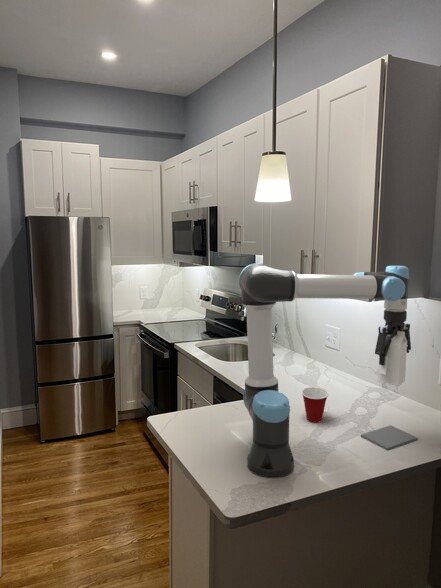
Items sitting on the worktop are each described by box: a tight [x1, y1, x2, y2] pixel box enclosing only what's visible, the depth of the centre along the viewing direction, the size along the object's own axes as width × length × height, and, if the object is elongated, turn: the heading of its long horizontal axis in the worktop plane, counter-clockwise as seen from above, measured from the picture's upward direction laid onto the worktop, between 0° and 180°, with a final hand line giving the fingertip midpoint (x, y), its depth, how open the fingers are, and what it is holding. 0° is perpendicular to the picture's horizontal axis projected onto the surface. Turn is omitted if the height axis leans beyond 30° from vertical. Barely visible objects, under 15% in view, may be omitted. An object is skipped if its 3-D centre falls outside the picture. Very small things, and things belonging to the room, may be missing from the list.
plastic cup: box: [300, 386, 330, 424], centre depth 179 cm, size 11×11×12 cm
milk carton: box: [378, 331, 408, 387], centre depth 160 cm, size 7×7×19 cm
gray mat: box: [360, 424, 419, 451], centre depth 164 cm, size 16×12×1 cm
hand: (392, 371), depth 161 cm, fingers closed on milk carton, 9 cm apart
